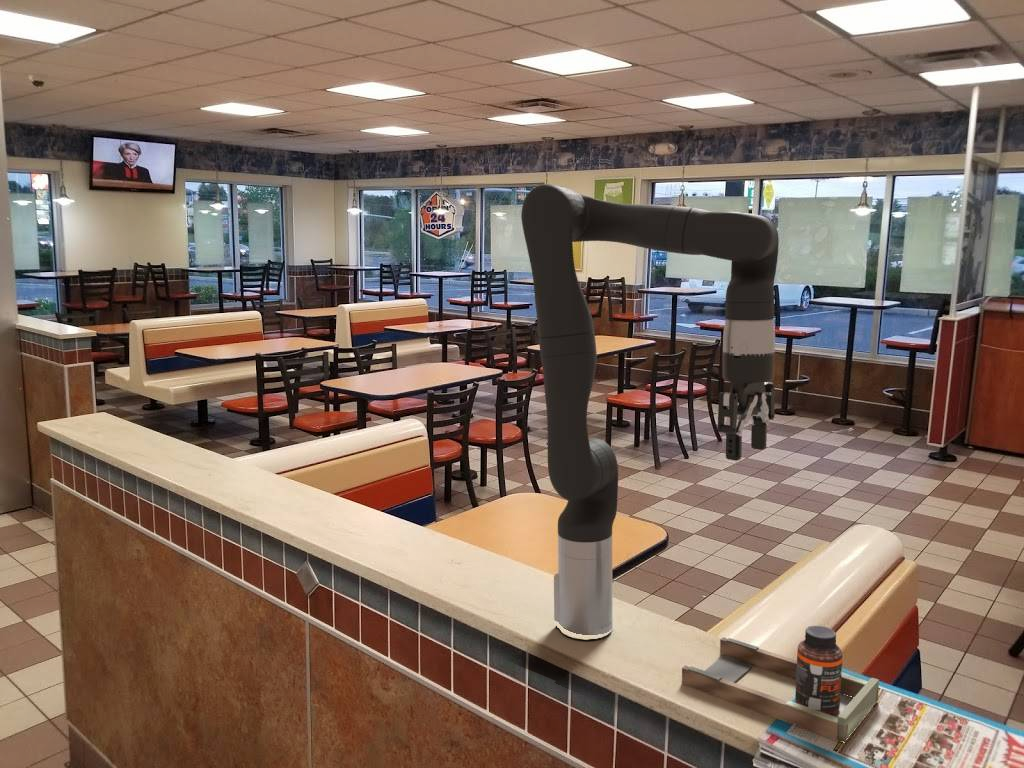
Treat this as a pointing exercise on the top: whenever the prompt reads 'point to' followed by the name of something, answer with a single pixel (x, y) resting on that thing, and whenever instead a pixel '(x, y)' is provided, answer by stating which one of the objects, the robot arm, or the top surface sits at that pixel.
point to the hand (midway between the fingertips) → (746, 454)
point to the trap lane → (742, 660)
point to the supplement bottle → (819, 670)
